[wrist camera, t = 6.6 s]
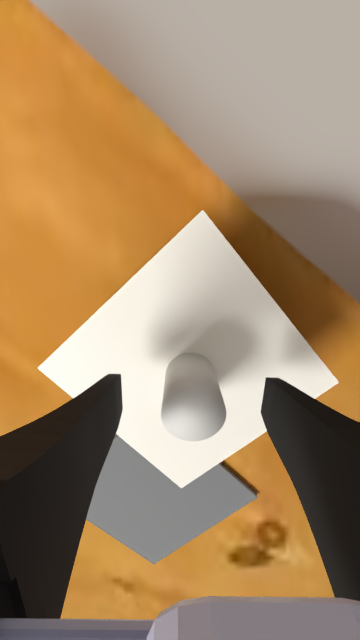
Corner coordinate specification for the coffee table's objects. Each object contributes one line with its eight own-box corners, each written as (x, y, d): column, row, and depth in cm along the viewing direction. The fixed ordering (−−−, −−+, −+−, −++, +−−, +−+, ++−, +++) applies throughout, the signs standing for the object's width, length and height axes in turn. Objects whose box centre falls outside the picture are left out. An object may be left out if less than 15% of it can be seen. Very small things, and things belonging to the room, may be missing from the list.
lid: (332, 377, 14) (390, 423, 10) (181, 480, 17) (182, 549, 13) (201, 212, 12) (212, 190, 8) (43, 363, 14) (-10, 406, 10)
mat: (256, 493, 23) (257, 497, 23) (154, 559, 26) (153, 564, 26) (153, 403, 20) (152, 406, 20) (50, 490, 23) (47, 494, 23)
